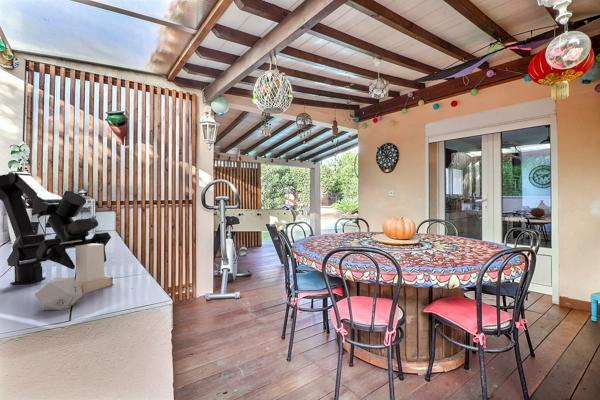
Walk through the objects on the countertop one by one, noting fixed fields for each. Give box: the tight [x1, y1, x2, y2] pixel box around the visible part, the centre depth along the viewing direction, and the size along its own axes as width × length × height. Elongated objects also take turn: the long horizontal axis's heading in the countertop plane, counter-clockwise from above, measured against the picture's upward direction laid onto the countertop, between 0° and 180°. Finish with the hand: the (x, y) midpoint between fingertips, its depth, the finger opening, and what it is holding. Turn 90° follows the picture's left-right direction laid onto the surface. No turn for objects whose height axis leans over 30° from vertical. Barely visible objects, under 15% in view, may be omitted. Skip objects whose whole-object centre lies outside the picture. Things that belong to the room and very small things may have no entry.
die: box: [34, 276, 84, 311], centre depth 72 cm, size 8×9×10 cm
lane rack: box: [77, 275, 115, 295], centre depth 89 cm, size 16×10×3 cm, turn 70°
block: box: [74, 243, 105, 284], centre depth 87 cm, size 5×5×13 cm
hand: (90, 264), depth 87 cm, fingers open, 9 cm apart
